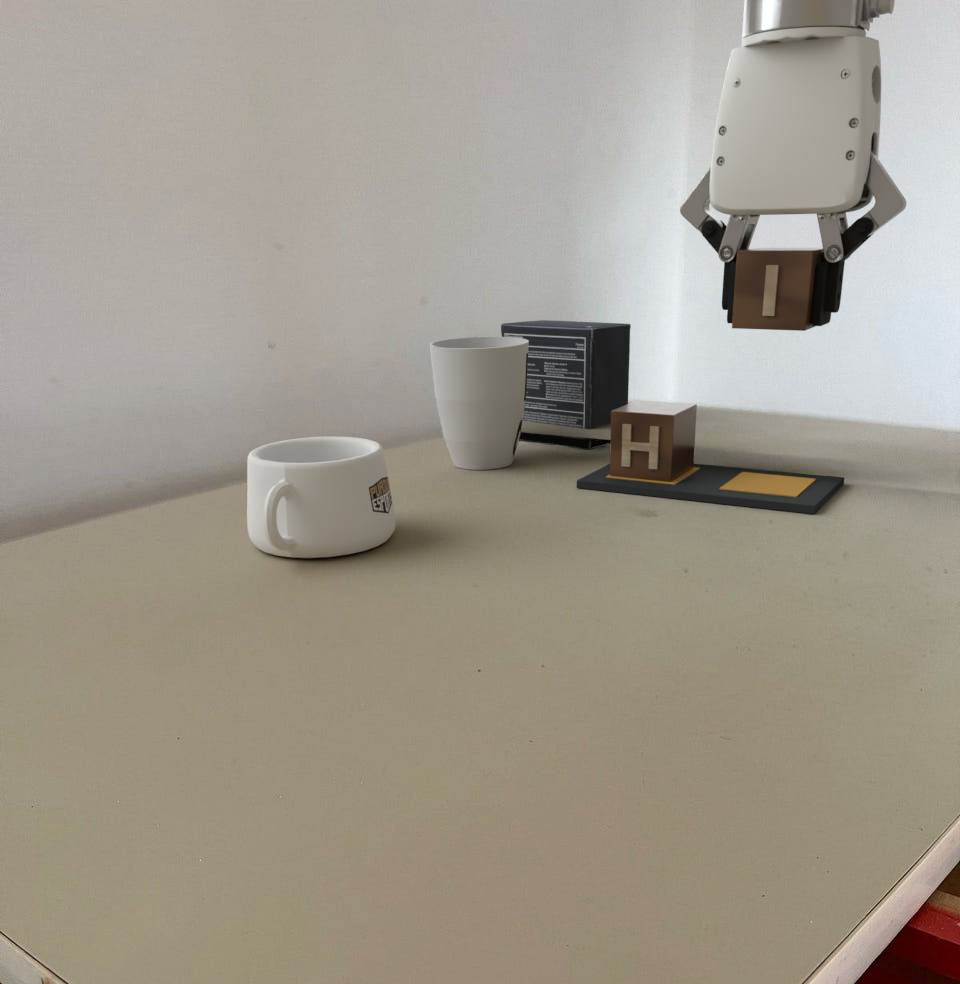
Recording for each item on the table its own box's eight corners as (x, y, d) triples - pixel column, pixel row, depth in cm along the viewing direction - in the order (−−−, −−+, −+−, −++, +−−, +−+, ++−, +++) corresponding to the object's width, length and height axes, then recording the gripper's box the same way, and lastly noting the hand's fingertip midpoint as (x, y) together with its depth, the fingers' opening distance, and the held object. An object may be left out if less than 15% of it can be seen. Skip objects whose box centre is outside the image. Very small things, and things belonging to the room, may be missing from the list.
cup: (545, 467, 86) (544, 343, 82) (454, 478, 83) (449, 350, 79) (507, 449, 93) (505, 334, 89) (422, 459, 90) (416, 340, 86)
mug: (291, 516, 74) (283, 432, 71) (417, 523, 71) (413, 436, 69) (201, 568, 63) (188, 471, 61) (345, 579, 60) (337, 479, 58)
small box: (632, 439, 95) (635, 321, 91) (590, 451, 91) (592, 328, 87) (542, 427, 102) (542, 316, 98) (499, 438, 97) (497, 322, 93)
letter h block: (693, 468, 81) (696, 404, 79) (669, 482, 77) (672, 415, 75) (634, 462, 83) (636, 400, 81) (608, 476, 79) (609, 411, 77)
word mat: (843, 485, 78) (844, 475, 77) (814, 514, 70) (815, 504, 70) (622, 463, 86) (622, 455, 86) (576, 488, 79) (576, 479, 79)
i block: (823, 323, 72) (831, 247, 70) (804, 331, 68) (812, 250, 66) (752, 321, 74) (758, 247, 73) (730, 328, 70) (736, 250, 68)
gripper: (959, 13, 63) (917, 321, 70) (693, 41, 71) (679, 315, 78) (942, -6, 57) (898, 332, 64) (653, 26, 65) (642, 324, 72)
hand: (778, 319), depth 71 cm, fingers closed on i block, 5 cm apart
